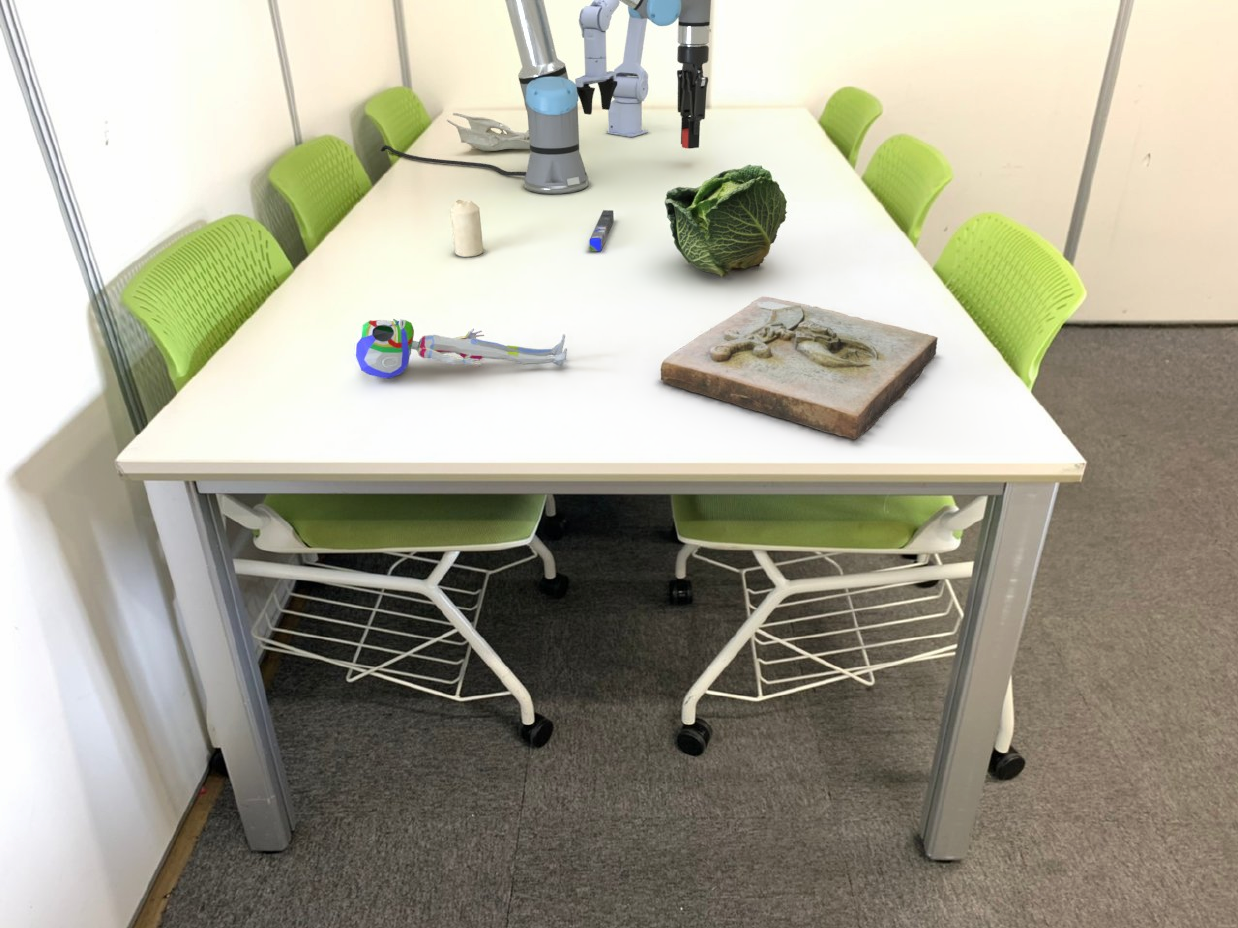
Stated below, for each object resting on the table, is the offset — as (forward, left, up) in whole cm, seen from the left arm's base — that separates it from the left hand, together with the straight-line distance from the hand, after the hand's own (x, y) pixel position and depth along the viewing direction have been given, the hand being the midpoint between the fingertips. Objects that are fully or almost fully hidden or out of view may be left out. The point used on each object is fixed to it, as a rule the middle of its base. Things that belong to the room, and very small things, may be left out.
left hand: (689, 145), depth 227 cm
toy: (+52, -112, -5) cm, 123 cm away
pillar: (+24, -55, -5) cm, 60 cm away
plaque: (+89, -79, -5) cm, 119 cm away
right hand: (-32, -2, +4) cm, 32 cm away
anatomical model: (-51, -22, -5) cm, 56 cm away
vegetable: (+54, -53, -5) cm, 76 cm away
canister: (0, 0, 0) cm, 0 cm away
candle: (+12, -80, -5) cm, 81 cm away
